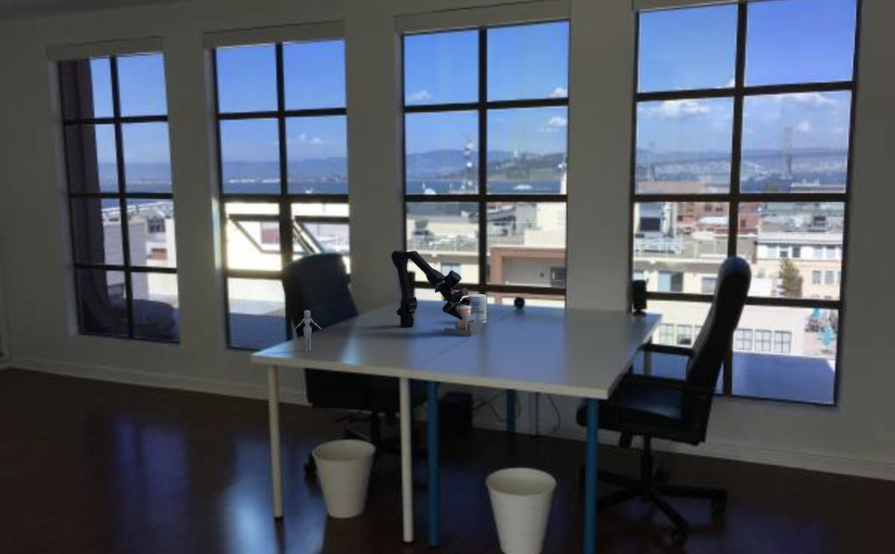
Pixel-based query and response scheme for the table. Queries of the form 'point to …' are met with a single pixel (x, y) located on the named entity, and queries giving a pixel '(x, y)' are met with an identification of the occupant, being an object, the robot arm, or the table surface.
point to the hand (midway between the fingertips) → (467, 317)
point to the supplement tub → (479, 306)
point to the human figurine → (307, 327)
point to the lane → (473, 330)
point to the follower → (470, 320)
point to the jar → (463, 315)
